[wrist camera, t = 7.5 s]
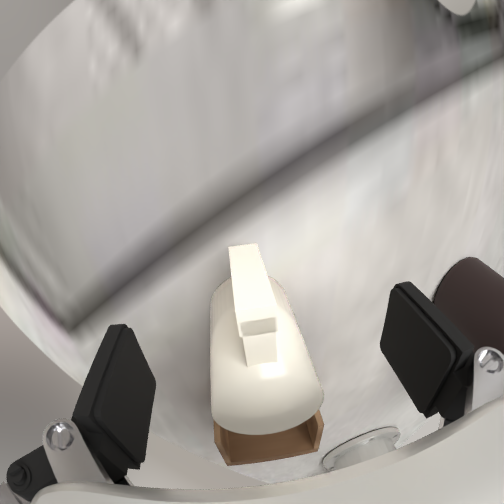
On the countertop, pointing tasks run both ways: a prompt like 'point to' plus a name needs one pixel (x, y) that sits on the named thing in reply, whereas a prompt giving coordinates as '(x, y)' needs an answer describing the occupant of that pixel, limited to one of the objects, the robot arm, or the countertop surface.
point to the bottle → (474, 302)
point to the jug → (258, 353)
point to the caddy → (269, 443)
